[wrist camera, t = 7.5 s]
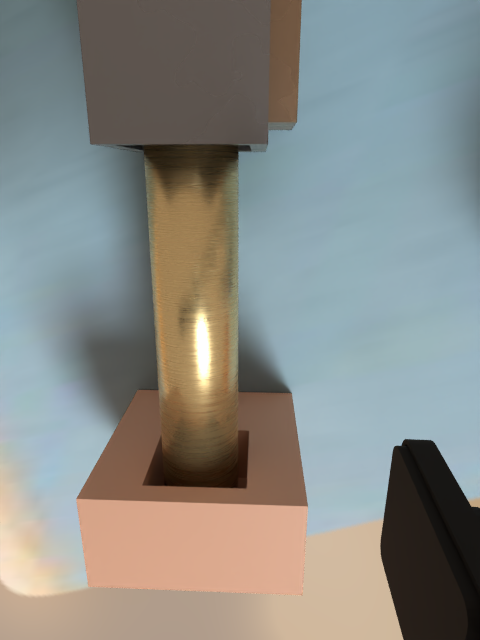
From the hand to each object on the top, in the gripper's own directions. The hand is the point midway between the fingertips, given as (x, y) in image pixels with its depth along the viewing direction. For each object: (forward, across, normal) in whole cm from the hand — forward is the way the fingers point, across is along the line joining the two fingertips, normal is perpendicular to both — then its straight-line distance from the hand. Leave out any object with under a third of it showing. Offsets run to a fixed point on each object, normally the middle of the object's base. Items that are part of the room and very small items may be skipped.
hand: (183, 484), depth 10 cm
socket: (+12, +1, +6) cm, 14 cm away
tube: (+8, +1, -2) cm, 9 cm away
